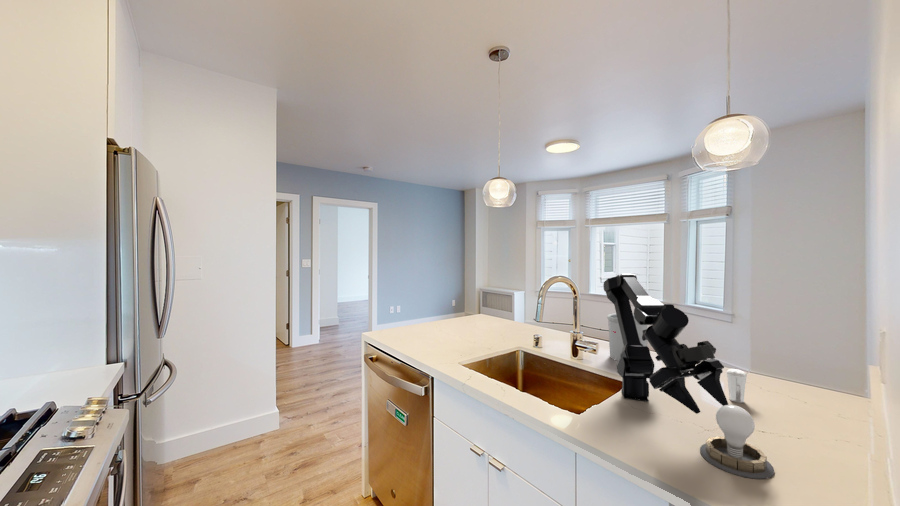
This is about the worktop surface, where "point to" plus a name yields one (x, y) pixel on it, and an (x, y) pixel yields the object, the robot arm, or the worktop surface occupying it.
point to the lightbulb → (735, 428)
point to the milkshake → (736, 384)
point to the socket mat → (763, 475)
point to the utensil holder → (616, 338)
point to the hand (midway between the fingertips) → (712, 409)
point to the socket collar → (733, 463)
